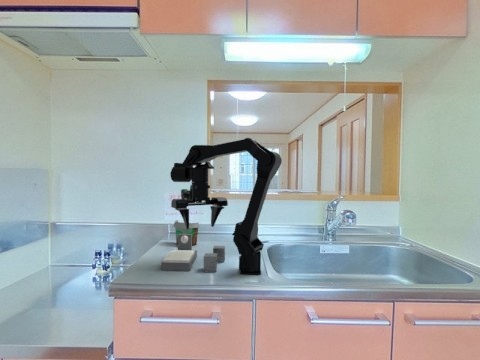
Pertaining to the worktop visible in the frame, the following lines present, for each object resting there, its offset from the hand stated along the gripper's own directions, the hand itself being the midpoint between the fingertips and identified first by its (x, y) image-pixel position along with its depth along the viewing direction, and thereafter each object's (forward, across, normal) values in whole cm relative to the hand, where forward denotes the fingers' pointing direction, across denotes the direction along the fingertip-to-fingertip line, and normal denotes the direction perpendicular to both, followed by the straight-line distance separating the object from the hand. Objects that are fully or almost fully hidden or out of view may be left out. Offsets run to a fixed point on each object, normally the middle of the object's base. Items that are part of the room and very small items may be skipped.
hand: (200, 227), depth 112 cm
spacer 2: (+13, -8, -1) cm, 15 cm away
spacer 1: (+13, 0, +7) cm, 15 cm away
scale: (+12, +6, -3) cm, 14 cm away
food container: (+12, -4, -30) cm, 32 cm away
